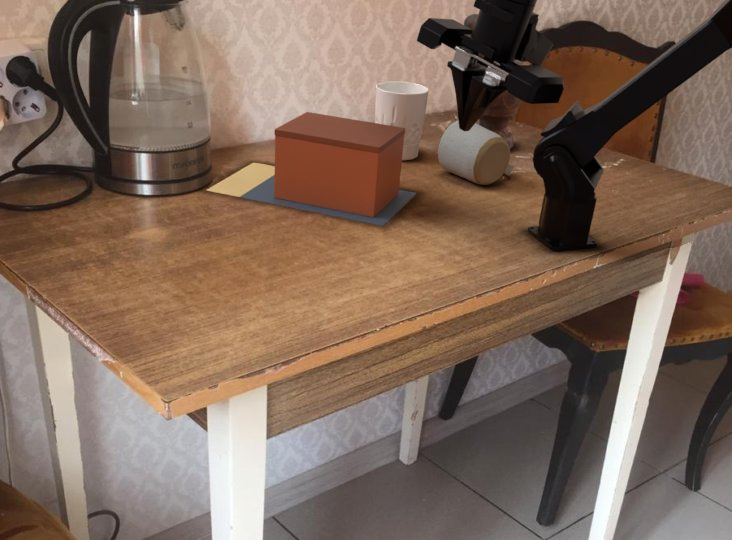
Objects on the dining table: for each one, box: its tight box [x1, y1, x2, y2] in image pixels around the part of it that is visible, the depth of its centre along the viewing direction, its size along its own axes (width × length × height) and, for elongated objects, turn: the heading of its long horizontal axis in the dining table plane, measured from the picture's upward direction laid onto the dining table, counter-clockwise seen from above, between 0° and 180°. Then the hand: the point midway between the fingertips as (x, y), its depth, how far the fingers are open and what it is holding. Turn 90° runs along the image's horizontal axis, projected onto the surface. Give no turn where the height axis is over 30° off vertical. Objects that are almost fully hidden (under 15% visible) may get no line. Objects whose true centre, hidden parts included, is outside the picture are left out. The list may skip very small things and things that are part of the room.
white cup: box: [374, 80, 430, 161], centre depth 131 cm, size 8×8×10 cm
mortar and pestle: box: [463, 13, 531, 150], centre depth 134 cm, size 12×9×20 cm
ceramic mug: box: [437, 119, 514, 186], centre depth 124 cm, size 11×8×8 cm
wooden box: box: [274, 111, 405, 217], centre depth 113 cm, size 14×10×9 cm
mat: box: [205, 162, 418, 227], centre depth 117 cm, size 25×14×1 cm, turn 68°
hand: (464, 130), depth 105 cm, fingers closed
